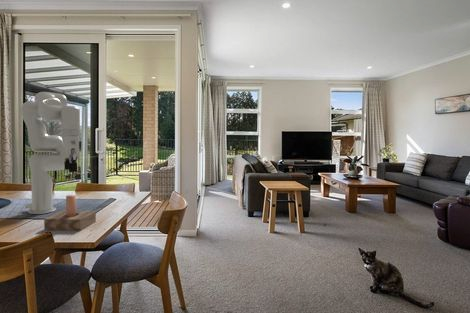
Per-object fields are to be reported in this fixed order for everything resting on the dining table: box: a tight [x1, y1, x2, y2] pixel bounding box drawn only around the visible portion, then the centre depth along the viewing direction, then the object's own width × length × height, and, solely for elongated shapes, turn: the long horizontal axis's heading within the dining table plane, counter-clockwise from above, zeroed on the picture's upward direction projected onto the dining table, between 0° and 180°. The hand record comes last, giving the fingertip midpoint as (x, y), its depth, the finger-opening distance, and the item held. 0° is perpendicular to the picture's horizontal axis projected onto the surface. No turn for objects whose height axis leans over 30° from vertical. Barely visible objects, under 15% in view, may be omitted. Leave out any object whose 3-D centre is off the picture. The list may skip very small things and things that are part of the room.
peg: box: [65, 194, 77, 217], centre depth 135 cm, size 4×4×14 cm
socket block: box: [43, 210, 96, 232], centre depth 135 cm, size 16×14×5 cm
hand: (70, 170), depth 134 cm, fingers open, 9 cm apart
